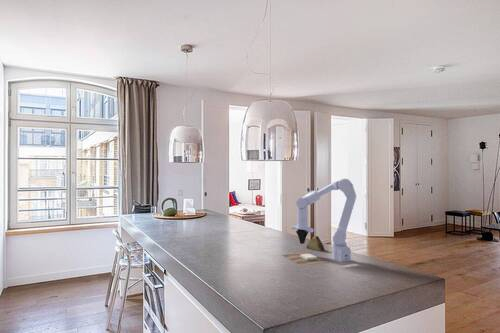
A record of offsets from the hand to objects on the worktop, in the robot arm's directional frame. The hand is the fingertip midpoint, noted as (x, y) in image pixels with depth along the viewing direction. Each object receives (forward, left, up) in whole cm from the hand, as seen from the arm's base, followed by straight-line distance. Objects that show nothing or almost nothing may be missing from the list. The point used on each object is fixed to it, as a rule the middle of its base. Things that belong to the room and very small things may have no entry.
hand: (302, 243), depth 185 cm
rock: (+9, -15, -8) cm, 19 cm away
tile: (-5, +1, -6) cm, 7 cm away
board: (-7, +3, -8) cm, 11 cm away
